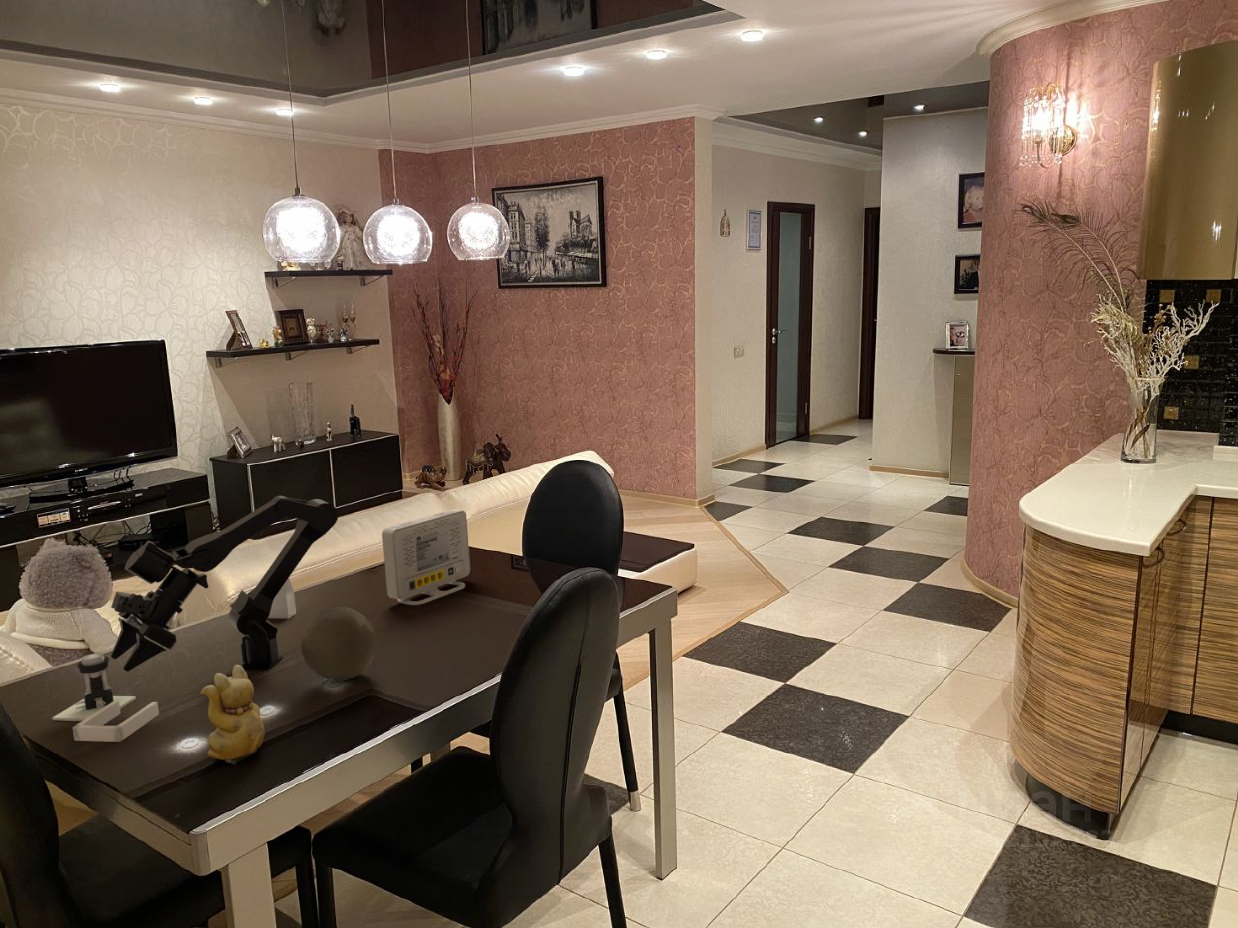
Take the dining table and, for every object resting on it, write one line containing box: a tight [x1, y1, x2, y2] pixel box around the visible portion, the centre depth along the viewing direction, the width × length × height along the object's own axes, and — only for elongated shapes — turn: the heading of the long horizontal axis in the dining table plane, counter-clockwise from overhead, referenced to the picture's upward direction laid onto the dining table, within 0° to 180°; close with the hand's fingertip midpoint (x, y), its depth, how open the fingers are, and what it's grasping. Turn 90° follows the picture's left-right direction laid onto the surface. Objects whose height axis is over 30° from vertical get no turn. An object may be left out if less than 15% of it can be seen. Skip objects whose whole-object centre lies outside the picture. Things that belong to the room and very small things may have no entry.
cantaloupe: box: [300, 606, 377, 682], centre depth 185 cm, size 14×14×15 cm
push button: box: [74, 652, 114, 710], centre depth 177 cm, size 7×5×10 cm
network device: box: [381, 508, 471, 606], centre depth 239 cm, size 26×9×20 cm, turn 144°
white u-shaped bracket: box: [72, 701, 160, 743], centre depth 169 cm, size 9×11×2 cm
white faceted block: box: [268, 577, 297, 619], centre depth 227 cm, size 4×7×10 cm, turn 81°
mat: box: [52, 695, 137, 722], centre depth 177 cm, size 10×10×1 cm
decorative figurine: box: [200, 664, 266, 765], centre depth 155 cm, size 10×8×15 cm
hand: (118, 664), depth 179 cm, fingers open, 9 cm apart
